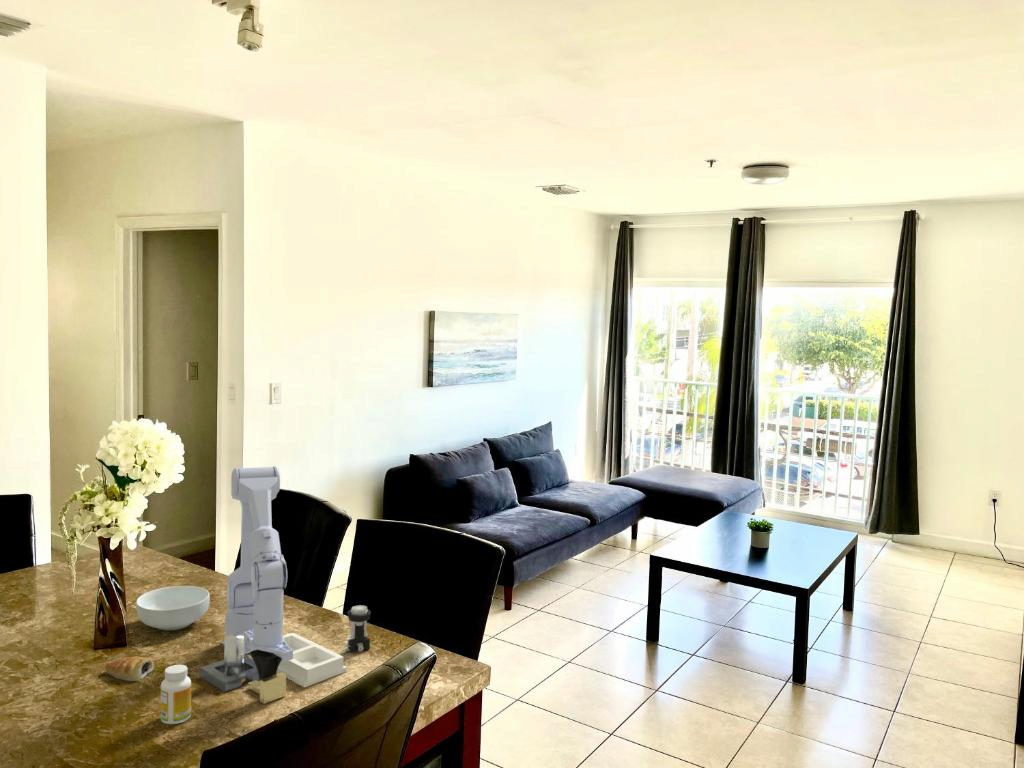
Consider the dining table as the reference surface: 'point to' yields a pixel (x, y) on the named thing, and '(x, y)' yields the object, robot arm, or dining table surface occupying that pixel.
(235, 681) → the socket
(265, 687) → the cream block
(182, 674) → the supplement bottle
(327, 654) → the tray
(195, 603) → the cereal bowl
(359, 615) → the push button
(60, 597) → the dining table surface
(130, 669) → the pastry
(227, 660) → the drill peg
